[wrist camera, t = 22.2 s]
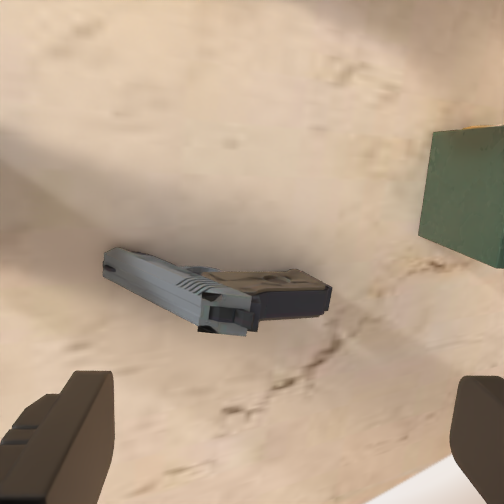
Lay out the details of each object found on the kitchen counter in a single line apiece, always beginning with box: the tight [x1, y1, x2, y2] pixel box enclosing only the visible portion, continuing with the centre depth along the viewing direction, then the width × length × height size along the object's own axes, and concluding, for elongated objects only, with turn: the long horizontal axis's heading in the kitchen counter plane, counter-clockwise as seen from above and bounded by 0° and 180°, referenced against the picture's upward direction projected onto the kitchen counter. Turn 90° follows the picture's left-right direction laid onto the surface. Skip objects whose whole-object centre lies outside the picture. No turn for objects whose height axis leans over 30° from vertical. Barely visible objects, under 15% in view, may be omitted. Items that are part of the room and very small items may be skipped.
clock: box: [418, 125, 504, 269], centre depth 29 cm, size 10×6×8 cm
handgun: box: [103, 247, 332, 336], centre depth 32 cm, size 2×14×12 cm
